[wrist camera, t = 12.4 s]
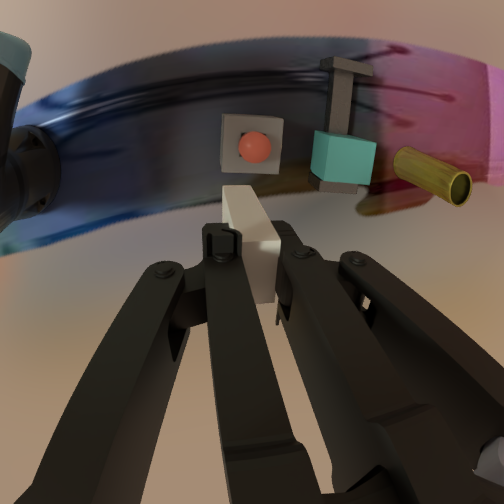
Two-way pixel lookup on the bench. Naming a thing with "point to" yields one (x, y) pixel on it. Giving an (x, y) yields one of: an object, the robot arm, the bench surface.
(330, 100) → the rail
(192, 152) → the bench surface
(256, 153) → the red ball knob
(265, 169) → the grey cube housing
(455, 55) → the bench surface
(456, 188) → the vase
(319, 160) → the block
